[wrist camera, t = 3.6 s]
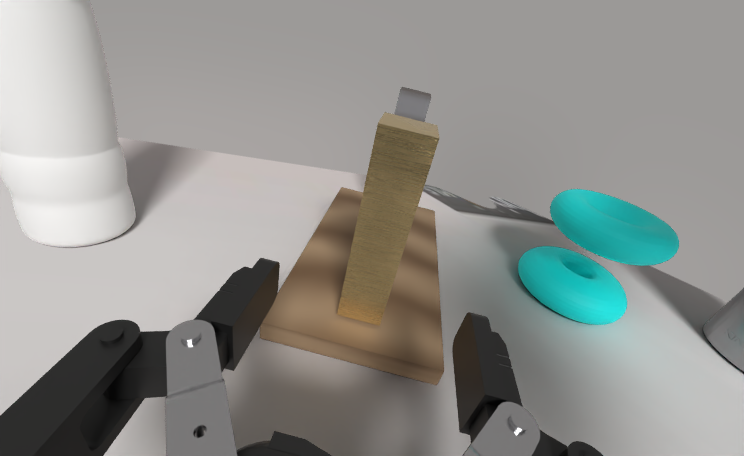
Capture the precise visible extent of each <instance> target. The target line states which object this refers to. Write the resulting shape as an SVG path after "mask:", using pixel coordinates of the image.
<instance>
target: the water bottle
mask: <svg viewBox="0 0 744 456" xmlns="http://www.w3.org/2000/svg"><path fill="white" fill-rule="evenodd" d="M117 135H118V134H117V122H116V115H115V107H114V101H113V95H112V89H111V84H110V78H109V73H108V68H107V63H106V59H105V54H104V50H103V45H102V41H101V37H100V33H99V29H98V26H97V22H96V19H95V15H94V12H93V9H92V6H91V2H90V0H0V177H1V179H2V181H3V182H4V184H5V185H6V187H7V188H8V190H9V191H10V193H11V198H12V203H13V208H14V211H15V214H16V217H17V220H18V222H19V225H20V227H21V229H22V231H23V233H24V234H25V235H26V236H27V237H28V238H30V239H31V240H33V241H35V242H38V243H41V244H44V245H48V246H55V247H81V246H88V245H94V244H98V243H102V242H105V241H108V240H111V239H113V238H115V237H117V236H119V235H121V234H122V233H124V232H125V231H127V230H128V229H129V228H130V227H131V226H132V224H133V223H134V221H135V218H136V211H135V206H134V201H133V198H132V194H131V191H130V188H129V186H128V183H127V167H126V161H125V157H124V153H123V150H122V148H121V146H120V144H119V142H118V136H117Z"/></svg>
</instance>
